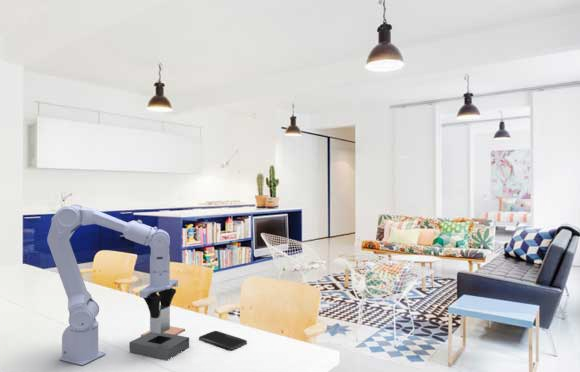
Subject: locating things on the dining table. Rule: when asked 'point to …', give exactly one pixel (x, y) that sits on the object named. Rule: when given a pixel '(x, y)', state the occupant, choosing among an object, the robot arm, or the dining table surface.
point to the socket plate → (159, 345)
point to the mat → (170, 331)
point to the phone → (223, 340)
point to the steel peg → (161, 320)
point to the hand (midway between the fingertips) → (159, 315)
